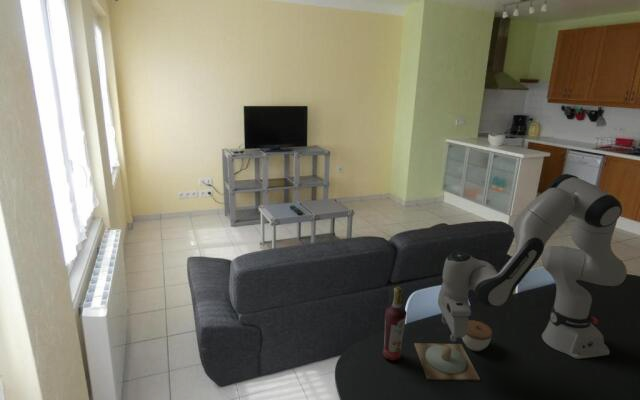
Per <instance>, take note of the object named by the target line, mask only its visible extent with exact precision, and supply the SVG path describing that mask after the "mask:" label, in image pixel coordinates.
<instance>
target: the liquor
mask: <svg viewBox="0 0 640 400" xmlns="http://www.w3.org/2000/svg"><path fill="white" fill-rule="evenodd" d="M402 292H403V288H402V287H401V286H395V287H394V288H393V295H394V296H393V301H392V304H391V305H389V306H387V307H386V308H385V312H384V338H383V339H384V340H383V341H384V342H383V343H384V344H383V350H382V351H381V352H382V355H383V357H384V358H385V359H387V360H388V359H389V361H393V362H394V361H398V360H400V359H401V358H402V343H403V337H404V332H405V327H406V320H407V319H406V318H407V311H406V310H405V308H403V307H402V306H401V305H402V304H401V303H402V300H401V297H402V294H403V293H402Z"/></svg>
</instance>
